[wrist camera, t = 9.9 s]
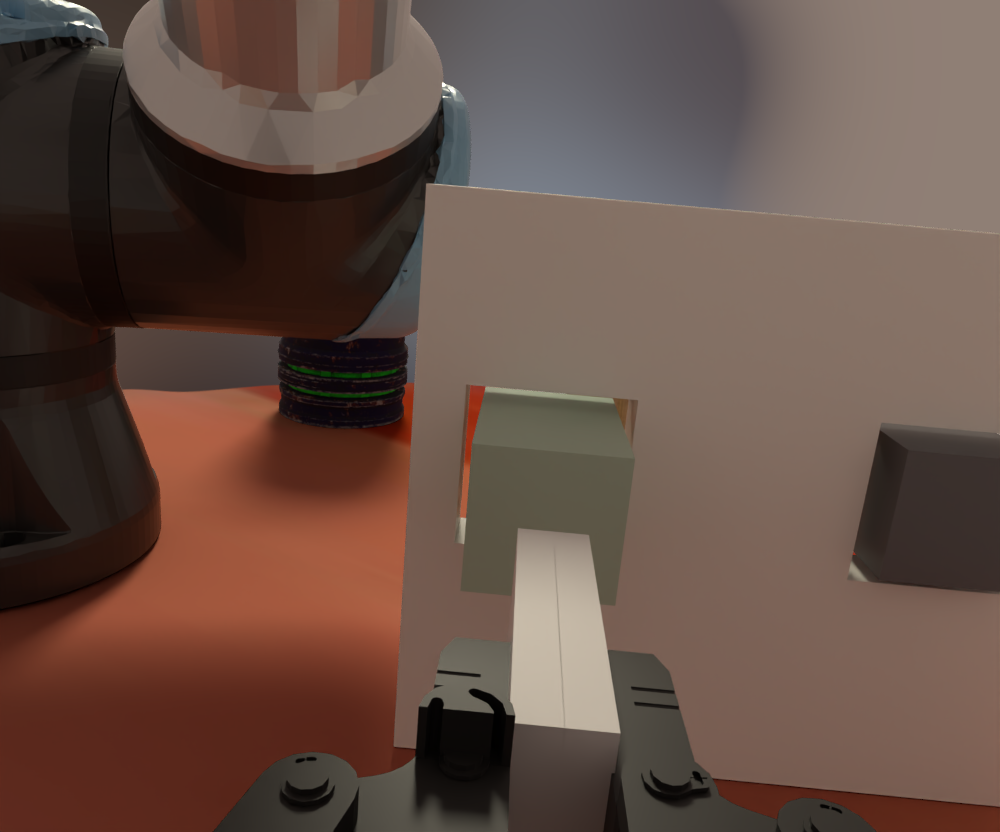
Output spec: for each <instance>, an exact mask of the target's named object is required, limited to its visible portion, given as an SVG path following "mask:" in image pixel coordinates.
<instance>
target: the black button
mask: <svg viewBox="0 0 1000 832" xmlns="http://www.w3.org/2000/svg"><path fill="white" fill-rule="evenodd" d="M854 552H855V554H856V555H857V556H858V557H859V558H860V559H861V560H862V562H863V563H864V564H865V565H866V566H867V567H868V568H869V570H870V571H871V572H872V573H873V574H874V575H875V576H876V578H877V579H878V580H880V581H891V582H901V583H912V584H922V585H933V586H943V587H954V588H964V589H975V590H985V591H996V592H1000V435H999V434H997V433H989V432H979V431H968V430H957V429H946V428H935V427H924V426H913V425H902V424H891V423H881V426H880V431H879V436H878V440H877V445H876V449H875V454H874V459H873V463H872V468H871V472H870V477H869V482H868V486H867V491H866V495H865V500H864V505H863V509H862V514H861V518H860V523H859V528H858V532H857V537H856V541H855V546H854Z"/></svg>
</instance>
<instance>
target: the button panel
mask: <svg viewBox="0 0 1000 832" xmlns="http://www.w3.org/2000/svg"><path fill="white" fill-rule="evenodd" d="M470 385H478V386H489V387H500V388H510V389H521V390H532V391H543V392H554V393H565V394H576V395H587V396H598V397H608V398H619V399H629V401H628V409H627V416H626V424H625V433H626V436H627V438H628V441H629V444H630V446H631V449H632V452H633V454H634V457H635V463H634V470H633V478H632V485H631V493H630V500H629V507H628V515H627V522H626V529H625V537H624V544H623V552H622V559H621V566H620V574H619V581H618V588H617V596H616V603H615V606H612V605H601V604H600V608H601V614H602V620H603V627H604V633H605V639H606V645H607V650H616V651H627V652H637V653H647V654H654V655H655V656H656V658H657V659H658V660H659V661H660V662H661V663H662V664H663V665H664V666H665V667H666V668H667V669H668V671H669V672H670V675H671V678H672V682H673V686H674V689H675V694H676V696H677V700H678V703H679V710H680V711H681V714H682V718H683V721H684V725H685V728H686V732H687V735H688V739H689V743H690V746H691V750H692V753H693V757H694V760H695V762H696V763H698V764H699V765H700V766H701V767H702V768H703V769H704V770H706V771H707V772H708V773H709V774H710V776H711V777H712V778H715V779H725V780H735V781H745V782H755V783H765V784H776V785H786V786H796V787H806V788H816V789H826V790H836V791H846V792H856V793H866V794H876V795H887V796H897V797H907V798H917V799H927V800H937V801H947V802H957V803H967V804H977V805H987V806H998V807H1000V592H996V591H985V590H975V589H964V588H954V587H943V586H933V585H922V584H912V583H901V582H891V581H880V580H878V579H877V578H876V576H875V575H874V574H873V573H872V572H871V571H870V570H869V568H868V567H867V566H866V565H865V564H864V563H863V562H862V560H861V559H860V558H859V557H858V556H857V555H853V551H854V546H855V541H856V537H857V532H858V528H859V523H860V518H861V514H862V509H863V505H864V500H865V495H866V491H867V486H868V482H869V477H870V472H871V468H872V463H873V459H874V454H875V449H876V445H877V440H878V436H879V431H880V426H881V423H891V424H902V425H913V426H924V427H935V428H946V429H957V430H968V431H979V432H989V433H1000V234H999V233H987V232H976V231H965V230H953V229H942V228H930V227H919V226H908V225H897V224H885V223H874V222H862V221H850V220H840V219H828V218H817V217H806V216H794V215H783V214H771V213H760V212H749V211H737V210H726V209H714V208H703V207H692V206H680V205H669V204H657V203H646V202H635V201H623V200H612V199H601V198H589V197H578V196H567V195H555V194H543V193H533V192H521V191H510V190H498V189H486V188H476V187H465V186H453V185H442V184H426V197H425V214H424V231H423V248H422V266H421V283H420V300H419V317H418V334H417V352H416V368H415V386H414V403H413V420H412V437H411V454H410V471H409V489H408V506H407V523H406V540H405V557H404V574H403V591H402V609H401V626H400V643H399V660H398V677H397V694H396V711H395V729H394V746H393V747H402V748H412V749H416V739H417V724H418V709H419V705H420V703H421V701H422V699H423V698H424V696H425V695H426V694H428V693H429V692H431V691H432V690H433V688H434V683H435V678H436V673H437V668H438V663H439V658H440V653H441V651H442V650H443V649H444V648H445V647H446V646H447V645H448V644H449V643H450V642H451V641H452V640H453V639H454V638H455V637H459V638H470V639H480V640H490V641H501V642H507V635H508V625H509V615H510V605H511V596H508V595H497V594H487V593H476V592H466V591H460V590H461V577H462V565H463V552H464V539H465V527H466V518H460V511H461V498H462V485H463V472H464V459H465V446H466V433H467V420H468V407H469V394H470Z"/></svg>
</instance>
